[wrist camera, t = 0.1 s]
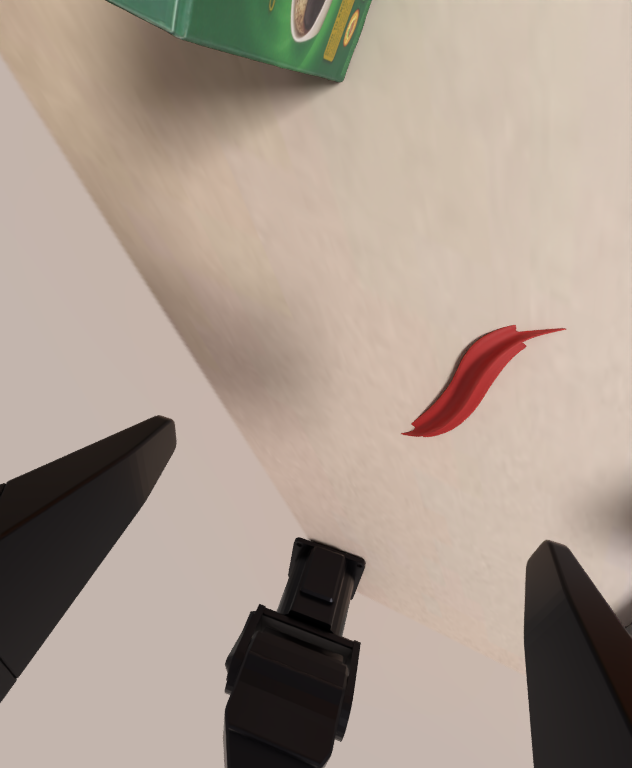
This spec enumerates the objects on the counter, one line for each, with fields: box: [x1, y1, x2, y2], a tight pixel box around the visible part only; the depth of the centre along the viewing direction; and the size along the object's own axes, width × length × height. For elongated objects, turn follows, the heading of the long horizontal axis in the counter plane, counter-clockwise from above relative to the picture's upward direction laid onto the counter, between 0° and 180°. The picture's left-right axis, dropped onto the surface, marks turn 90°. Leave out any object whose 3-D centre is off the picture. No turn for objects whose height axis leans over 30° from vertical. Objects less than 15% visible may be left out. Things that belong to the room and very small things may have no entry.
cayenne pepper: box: [401, 325, 565, 437], centre depth 23 cm, size 12×5×2 cm, turn 133°
